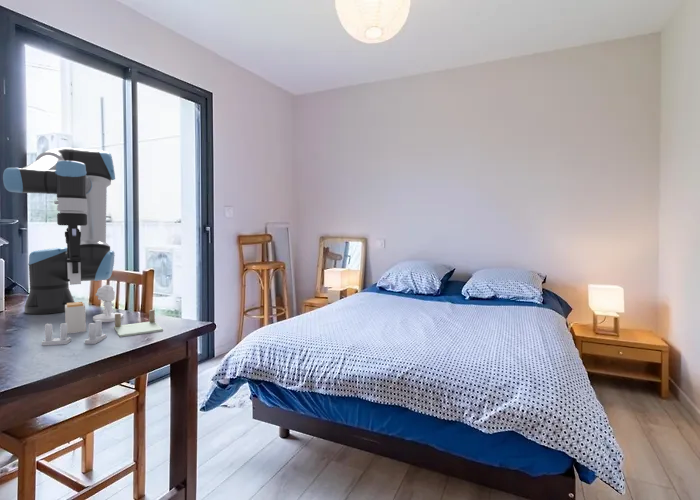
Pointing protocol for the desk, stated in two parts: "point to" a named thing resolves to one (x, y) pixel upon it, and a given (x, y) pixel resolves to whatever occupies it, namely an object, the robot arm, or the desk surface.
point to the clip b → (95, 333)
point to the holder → (136, 326)
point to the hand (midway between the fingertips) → (74, 281)
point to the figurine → (106, 304)
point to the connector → (75, 317)
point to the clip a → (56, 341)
